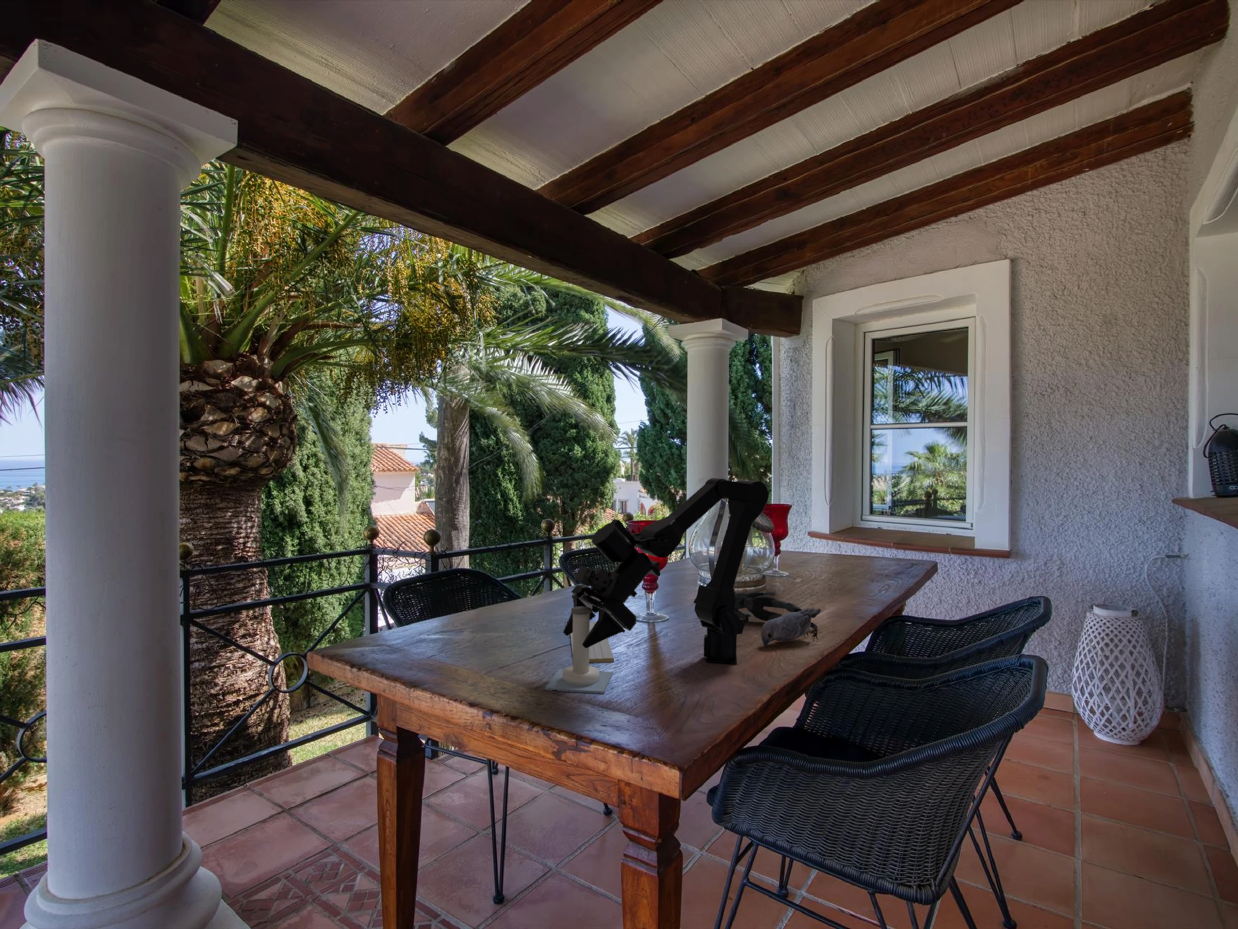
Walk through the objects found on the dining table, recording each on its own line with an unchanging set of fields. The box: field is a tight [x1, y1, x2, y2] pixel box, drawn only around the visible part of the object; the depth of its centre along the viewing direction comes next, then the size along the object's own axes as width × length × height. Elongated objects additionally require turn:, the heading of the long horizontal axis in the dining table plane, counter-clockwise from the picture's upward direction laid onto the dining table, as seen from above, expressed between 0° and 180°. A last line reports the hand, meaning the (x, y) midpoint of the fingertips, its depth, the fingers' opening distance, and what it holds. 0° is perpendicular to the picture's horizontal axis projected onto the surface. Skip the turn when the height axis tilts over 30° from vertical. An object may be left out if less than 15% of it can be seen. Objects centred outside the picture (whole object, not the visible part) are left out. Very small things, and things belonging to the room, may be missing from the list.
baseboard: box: [564, 621, 615, 663], centre depth 153 cm, size 30×3×10 cm
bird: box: [760, 607, 819, 647], centre depth 155 cm, size 5×16×8 cm, turn 121°
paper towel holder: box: [563, 606, 600, 686], centre depth 126 cm, size 7×7×14 cm
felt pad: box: [544, 668, 614, 695], centre depth 126 cm, size 11×11×1 cm
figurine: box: [734, 591, 822, 631], centre depth 175 cm, size 11×9×30 cm
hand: (574, 640), depth 125 cm, fingers open, 9 cm apart
